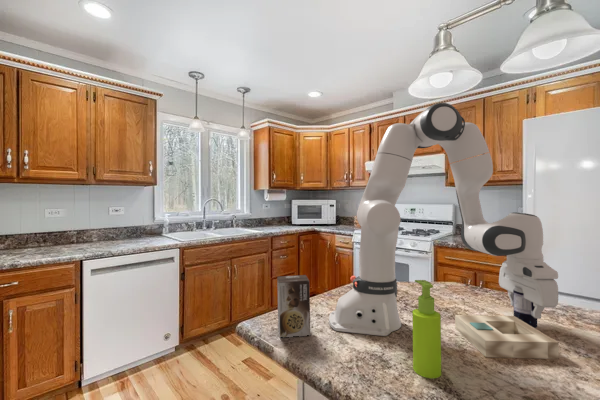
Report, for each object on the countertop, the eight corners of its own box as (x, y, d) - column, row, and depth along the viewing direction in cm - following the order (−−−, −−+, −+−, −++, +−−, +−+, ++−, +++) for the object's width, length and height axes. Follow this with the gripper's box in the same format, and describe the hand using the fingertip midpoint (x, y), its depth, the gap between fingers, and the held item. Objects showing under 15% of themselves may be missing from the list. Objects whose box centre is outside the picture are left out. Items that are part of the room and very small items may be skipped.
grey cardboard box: (306, 326, 89) (306, 274, 89) (310, 336, 83) (310, 280, 83) (277, 328, 88) (276, 275, 88) (279, 338, 81) (278, 281, 81)
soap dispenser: (431, 360, 70) (430, 277, 70) (446, 378, 63) (445, 286, 63) (407, 361, 69) (406, 278, 69) (420, 378, 62) (419, 286, 62)
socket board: (485, 357, 71) (485, 339, 71) (455, 328, 87) (455, 313, 87) (558, 358, 70) (558, 341, 70) (514, 329, 86) (514, 314, 86)
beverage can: (541, 331, 84) (541, 290, 84) (519, 330, 85) (519, 289, 85) (530, 323, 90) (530, 285, 90) (510, 322, 91) (509, 284, 91)
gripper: (493, 259, 98) (493, 299, 98) (538, 274, 78) (539, 325, 78) (512, 259, 98) (513, 299, 98) (563, 274, 77) (564, 326, 77)
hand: (525, 311), depth 87 cm, fingers open, 8 cm apart
